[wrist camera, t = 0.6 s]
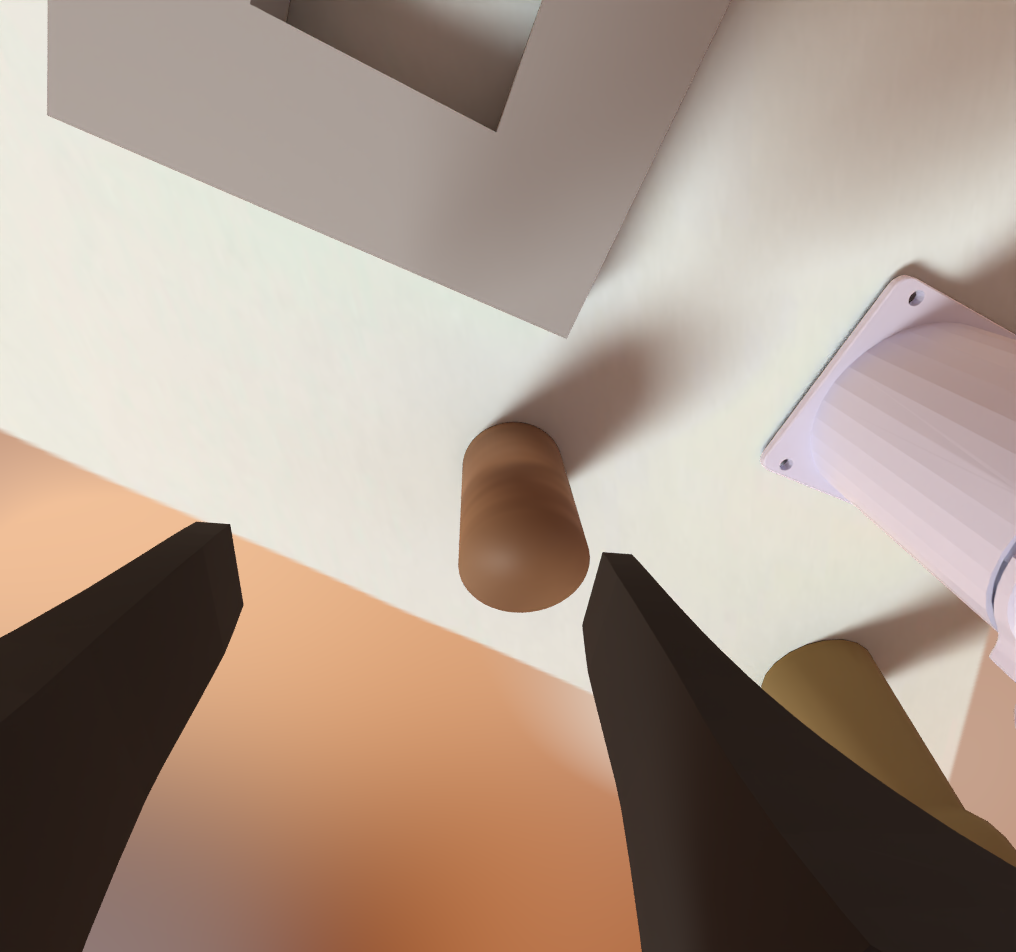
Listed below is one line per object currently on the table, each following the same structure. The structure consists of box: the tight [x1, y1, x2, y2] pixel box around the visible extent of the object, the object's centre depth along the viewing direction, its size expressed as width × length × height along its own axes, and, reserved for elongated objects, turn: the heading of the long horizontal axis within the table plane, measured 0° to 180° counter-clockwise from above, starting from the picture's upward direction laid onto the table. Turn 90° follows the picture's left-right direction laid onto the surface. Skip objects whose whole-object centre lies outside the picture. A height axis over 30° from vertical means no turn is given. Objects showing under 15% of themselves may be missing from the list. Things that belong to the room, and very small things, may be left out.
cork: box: [761, 640, 1016, 867], centre depth 24 cm, size 6×6×11 cm
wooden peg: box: [458, 422, 590, 613], centre depth 18 cm, size 4×4×6 cm
